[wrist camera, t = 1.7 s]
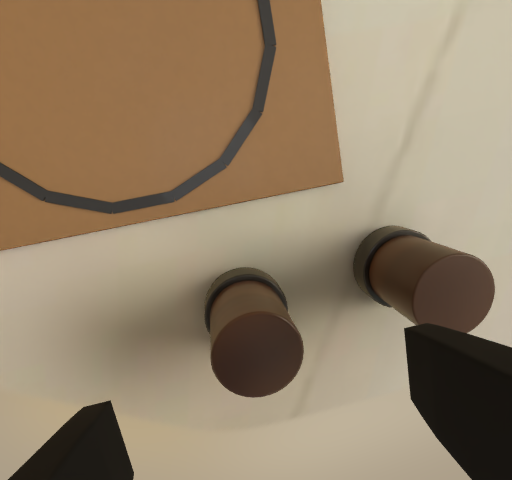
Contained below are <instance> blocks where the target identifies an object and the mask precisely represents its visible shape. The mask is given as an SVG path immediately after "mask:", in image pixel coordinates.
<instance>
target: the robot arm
mask: <svg viewBox="0 0 512 480" xmlns="http://www.w3.org/2000/svg"><path fill="white" fill-rule="evenodd" d="M404 331H405V342H406V353H407V363H408V374H409V385H410V395H411V400H412V401H413V403H414V405H415V406H416V408H417V409H418V411H419V412H420V414H421V416H422V417H423V419H424V420H425V421H426V423H427V424H428V426H429V427H430V429H431V430H432V432H433V433H434V434H435V436H436V438H437V439H438V440H439V441H440V442H441V444H442V445H443V446H444V447H445V448H446V449H447V451H448V452H449V453H450V454H451V456H452V457H453V458H454V459H455V460H456V461H457V463H458V464H459V465H460V466H461V467H462V469H463V470H464V471H465V472H466V473H467V474H468V476H469V477H470V478H471V479H472V480H512V348H511V347H508V346H505V345H502V344H499V343H495V342H492V341H489V340H486V339H483V338H479V337H476V336H473V335H470V334H467V333H463V332H460V331H457V330H453V329H450V328H446V327H443V326H439V325H435V324H430V323H424V324H420V325H416V326H412V327H408V328H404ZM133 476H134V472H133V469H132V465H131V462H130V459H129V456H128V453H127V450H126V447H125V444H124V441H123V438H122V435H121V432H120V428H119V425H118V422H117V419H116V416H115V413H114V410H113V407H112V403H111V400H110V401H106V402H102V403H98V404H94V405H90V406H86V407H83V408H82V409H81V410H80V411H78V412H77V413H76V414H75V415H74V416H73V417H72V418H71V419H70V420H69V421H67V422H66V423H65V424H64V425H63V426H62V427H61V428H60V429H59V430H58V431H57V432H56V433H55V434H54V435H53V436H52V437H51V438H50V439H49V440H48V441H47V442H46V443H45V444H44V445H43V446H42V447H41V448H40V449H39V450H38V451H37V452H36V453H35V454H34V455H33V456H32V457H31V458H30V459H29V460H28V461H27V462H26V463H25V464H24V465H22V467H20V468H19V469H18V471H16V472H15V473H14V474H13V476H11V477H10V478H9V479H8V480H133Z"/></svg>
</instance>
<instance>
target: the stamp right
mask: <svg viewBox="0 0 512 480" xmlns="http://www.w3.org/2000/svg"><path fill="white" fill-rule="evenodd" d="M354 275H355V278H356V281H357V283H358V285H359V286H360V288H361V289H362V290H363V291H364V292H365V293H366V294H368V295H369V296H370V297H371V298H373V299H374V300H375V301H377V302H378V303H380V304H382V305H384V306H387V307H393V308H394V309H395V310H397V311H398V312H399V313H401V314H402V315H403V316H405V317H406V318H407V319H409V320H410V321H411V322H413V323H414V324H415V325H420V324H424V323H430V324H435V325H439V326H443V327H446V328H450V329H453V330H457V331H460V332H463V333H468V332H470V331H471V330H473V329H474V328H475V327H476V326H478V325H479V324H480V323H481V322H482V320H483V319H484V318H485V317H486V315H487V313H488V312H489V310H490V308H491V305H492V302H493V299H494V292H495V285H494V279H493V276H492V273H491V271H490V270H489V268H488V267H487V265H486V264H485V263H484V262H483V261H481V260H480V259H479V258H477V257H475V256H473V255H470V254H467V253H464V252H461V251H458V250H455V249H452V248H449V247H446V246H443V245H440V244H437V243H434V242H432V241H431V240H430V239H429V238H428V237H426V236H425V235H424V234H422V233H420V232H417V231H414V230H411V229H408V228H404V227H400V226H388V227H383V228H381V229H378V230H376V231H374V232H373V233H371V234H370V235H369V236H368V237H367V238H366V239H365V240H364V241H363V242H362V243H361V245H360V246H359V248H358V250H357V253H356V255H355V259H354Z"/></svg>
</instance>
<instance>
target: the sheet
mask: <svg viewBox="0 0 512 480" xmlns="http://www.w3.org/2000/svg"><path fill="white" fill-rule="evenodd" d="M340 182H343V174H342V166H341V158H340V150H339V142H338V134H337V126H336V118H335V111H334V103H333V95H332V87H331V79H330V71H329V63H328V55H327V47H326V39H325V31H324V23H323V15H322V7H321V0H0V251H1V250H6V249H11V248H16V247H21V246H26V245H31V244H36V243H41V242H46V241H51V240H56V239H61V238H66V237H71V236H76V235H81V234H86V233H91V232H96V231H101V230H106V229H111V228H116V227H121V226H126V225H131V224H136V223H140V222H145V221H150V220H155V219H160V218H165V217H170V216H175V215H180V214H185V213H190V212H195V211H200V210H205V209H210V208H215V207H220V206H225V205H230V204H235V203H240V202H245V201H250V200H255V199H260V198H265V197H270V196H275V195H280V194H285V193H290V192H295V191H300V190H305V189H310V188H315V187H320V186H325V185H330V184H335V183H340Z"/></svg>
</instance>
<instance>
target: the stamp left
mask: <svg viewBox="0 0 512 480" xmlns="http://www.w3.org/2000/svg"><path fill="white" fill-rule="evenodd" d="M205 324H206V327H207V330H208V332H209V334H210V350H211V365H212V369H213V372H214V374H215V376H216V377H217V379H218V380H219V382H220V383H221V384H222V385H223V386H224V387H225V388H227V389H228V390H229V391H231V392H233V393H235V394H238V395H240V396H245V397H263V396H267V395H271V394H273V393H276V392H278V391H279V390H281V389H283V388H284V387H285V386H287V385H288V384H289V383H290V382H291V381H292V380H293V379H294V377H295V376H296V374H297V373H298V371H299V369H300V366H301V364H302V360H303V353H304V348H303V341H302V338H301V335H300V333H299V331H298V329H297V328H296V326H295V324H294V322H293V320H292V319H291V317H290V315H289V313H288V306H287V301H286V298H285V296H284V294H283V292H282V290H281V289H280V287H279V285H278V284H277V282H276V281H275V280H274V279H273V278H272V277H271V276H270V275H268V274H267V273H265V272H263V271H261V270H258V269H254V268H238V269H234V270H231V271H228V272H226V273H224V274H223V275H221V276H220V277H219V278H218V279H217V280H216V281H215V282H214V283H213V284H212V286H211V287H210V289H209V291H208V293H207V296H206V299H205Z"/></svg>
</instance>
